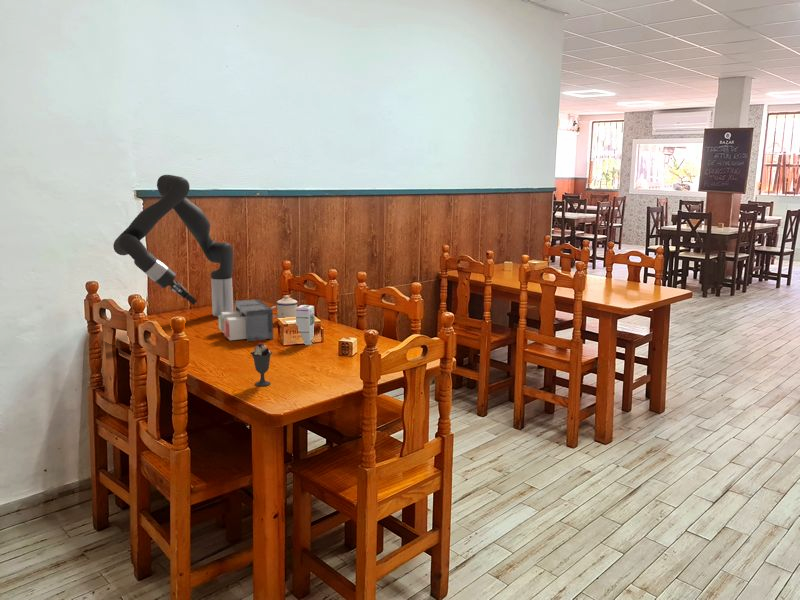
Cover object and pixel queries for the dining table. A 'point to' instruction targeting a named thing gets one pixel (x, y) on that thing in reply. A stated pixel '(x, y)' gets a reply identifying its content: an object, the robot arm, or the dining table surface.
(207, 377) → the dining table surface
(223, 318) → the pale greenish white box
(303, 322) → the syrup box
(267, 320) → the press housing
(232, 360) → the dining table surface
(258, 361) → the sundae
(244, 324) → the white cube pink side
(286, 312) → the teacup with lid
